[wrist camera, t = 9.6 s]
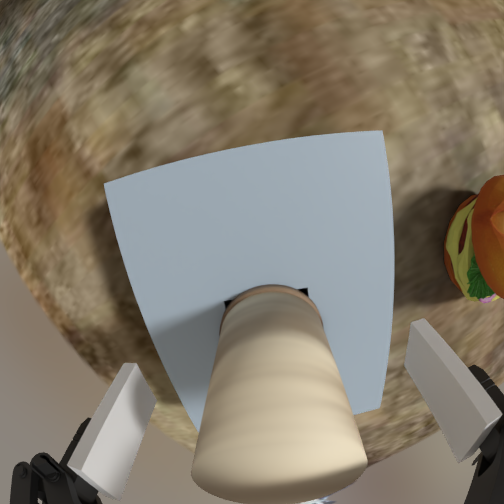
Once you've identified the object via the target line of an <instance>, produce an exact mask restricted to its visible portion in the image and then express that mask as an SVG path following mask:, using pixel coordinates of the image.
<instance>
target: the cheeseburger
mask: <svg viewBox="0 0 504 504" xmlns="http://www.w3.org/2000/svg"><path fill="white" fill-rule="evenodd" d="M444 263H445V266H446V268H447V271H448V274H449V277H450V280H451V281H452V282H453V283H454V284H455V285H456V286H457V287H458V288H459V290H460V291H461V292H462V293H463V294H464V295H465V297H466V298H467V299H468V300H471V301H480V302H483V303H487V302H490V301H493V300H496V299H498V298H500V297H501V298H503V299H504V175H500V176H494V177H492V178H491V179H490V180H488V181H487V182H486V183H485V184H484V186H483V187H482V188H481V190H480V192H479V194H478V195H472V196H470V197H469V198H468V199H467V200H465V201H464V202H463V203H462V204H461V205H460V206H459V207H458V209H457V211H456V212H455V214H454V216H453V217H452V219H451V221H450V223H449V227H448V230H447V234H446V237H445V240H444Z"/></svg>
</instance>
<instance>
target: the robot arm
mask: <svg viewBox="0 0 504 504" xmlns="http://www.w3.org/2000/svg"><path fill="white" fill-rule="evenodd" d="M404 366H405V368H406V370H407V371H408V373H409V374H410V376H411V378H412V379H413V381H414V383H415V384H416V386H417V388H418V389H419V391H420V393H421V395H422V396H423V398H424V400H425V401H426V403H427V405H428V407H429V409H430V410H431V412H432V414H433V416H434V417H435V419H436V421H437V423H438V425H439V427H440V429H441V430H442V432H443V434H444V436H445V438H446V440H447V442H448V444H449V446H450V448H451V449H452V452H453V453H454V455H455V458H456V460H457V462H458V463H460V462H462V461H463V460H465V459H467V458H469V457H470V456H472V455H473V454H474V453H475V452H476V451H477V449H478V448H480V450H481V453H480V454H479V455H478V456H477V458H476V459H475V460H474V461H473V464H472V465H475V463H476V462H477V461H478V463H477V467H476V470H475V473H474V476H473V480H472V483H471V486H470V489H469V491H468V495H467V497H466V500H465V502H464V504H504V395H503V393H502V392H501V391H500V389H499V388H498V387H497V386H496V385H495V383H494V382H493V381H492V379H490V377H489V376H488V375H487V373H486V372H485V371H484V370H483V369H481V368H479V367H478V366H476V365H472V366H470V367H469V368H467V367H466V366H465V364H464V363H463V362H462V361H461V360H460V358H459V357H458V356H457V355H456V354H455V352H454V351H453V350H452V349H451V348H450V347H449V345H448V344H447V343H446V342H445V341H444V340H443V339H442V337H441V336H440V335H439V334H438V333H437V332H436V331H435V330H434V329H433V327H432V326H431V325H430V324H429V323H428V322H427V321H426V320H425V319H424V318H423V319H420V320H417V321H414V322H411V325H410V333H409V340H408V346H407V352H406V358H405V363H404ZM156 401H157V400H156V398H155V396H154V395H153V393H152V391H151V389H150V388H149V386H148V384H147V382H146V380H145V378H144V377H143V375H142V373H141V371H140V369H139V367H138V365H137V363H124V364H123V366H122V367H121V369H120V371H119V372H118V374H117V376H116V377H115V379H114V381H113V382H112V384H111V386H110V387H109V389H108V391H107V393H106V394H105V396H104V398H103V399H102V401H101V403H100V405H99V406H98V408H97V410H96V412H95V413H94V415H93V417H92V418H87V419H86V420H85V421H84V422H83V423H82V424H81V425H80V427H79V429H78V430H77V432H76V433H77V434H75V436H74V437H73V441H71V443H70V445H69V447H68V448H67V450H66V452H65V454H64V456H63V458H62V460H61V461H60V463H59V464H58V463H57V462H56V461H55V460H54V459H53V458H52V457H51V456H50V455H49V454H47V453H38V454H36V455H35V456H34V457H33V458H32V460H31V462H30V465H29V464H28V463H27V462H20V463H18V464H17V465H16V466H15V467H14V470H13V476H12V485H11V495H10V504H39V503H38V498H39V499H40V500H42V504H102V502H101V500H100V498H99V497H98V495H97V493H98V491H99V492H100V493H102V494H103V495H105V496H106V497H109V498H112V499H115V500H118V501H120V500H121V497H122V494H123V491H124V488H125V485H126V482H127V480H128V477H129V474H130V471H131V468H132V466H133V463H134V460H135V457H136V454H137V452H138V449H139V446H140V444H141V441H142V438H143V435H144V433H145V430H146V427H147V425H148V422H149V420H150V417H151V414H152V412H153V409H154V407H155V404H156Z"/></svg>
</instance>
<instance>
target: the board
mask: <svg viewBox="0 0 504 504" xmlns="http://www.w3.org/2000/svg"><path fill="white" fill-rule="evenodd" d="M104 187H105V192H106V197H107V201H108V206H109V210H110V214H111V218H112V222H113V226H114V230H115V234H116V237H117V241H118V244H119V248H120V251H121V255H122V258H123V261H124V264H125V268H126V271H127V274H128V277H129V280H130V283H131V286H132V289H133V292H134V294H135V297H136V300H137V303H138V305H139V308H140V311H141V313H142V316H143V319H144V321H145V324H146V326H147V329H148V331H149V334H150V336H151V338H152V341H153V343H154V345H155V348H156V350H157V352H158V355H159V357H160V359H161V361H162V363H163V366H164V368H165V370H166V372H167V374H168V376H169V378H170V380H171V382H172V384H173V386H174V388H175V390H176V392H177V394H178V396H179V398H180V400H181V402H182V404H183V406H184V408H185V409H186V411H187V413H188V415H189V417H190V419H191V420H192V422H193V424H194V426H195V427H196V429H197V431H198V432H199V430H200V425H201V421H202V416H203V411H204V406H205V402H206V397H207V392H208V388H209V383H210V378H211V374H212V369H213V365H214V360H215V355H216V351H217V346H218V342H219V337H220V336H219V331H220V324H221V320H222V317H223V314H224V312H225V309H226V308H227V306H228V305H229V304H230V302H231V301H232V300H233V299H234V298H235V297H237V296H238V295H239V294H241V293H242V292H244V291H246V290H248V289H250V288H253V287H256V286H261V285H267V284H279V285H285V286H289V287H292V288H295V289H300V291H301V292H303V293H304V294H306V295H307V296H308V297H309V298H310V299H311V300H312V301H313V302H314V304H315V305H316V307H317V309H318V311H319V313H320V316H321V318H322V322H323V327H324V332H325V334H326V337H327V340H328V343H329V345H330V348H331V351H332V354H333V357H334V359H335V362H336V365H337V368H338V371H339V374H340V377H341V379H342V382H343V385H344V388H345V391H346V394H347V397H348V400H349V403H350V406H351V409H352V412H353V415H356V414H359V413H363V412H367V411H370V410H374V409H377V408H380V404H381V399H382V394H383V389H384V383H385V377H386V370H387V364H388V356H389V348H390V339H391V329H392V316H393V300H394V227H393V210H392V198H391V188H390V178H389V170H388V163H387V156H386V149H385V143H384V137H383V132H382V131H362V132H348V133H336V134H325V135H316V136H307V137H299V138H292V139H285V140H278V141H272V142H266V143H260V144H254V145H248V146H243V147H238V148H233V149H228V150H223V151H218V152H214V153H209V154H205V155H201V156H197V157H192V158H188V159H184V160H181V161H177V162H173V163H169V164H166V165H162V166H158V167H155V168H152V169H148V170H145V171H142V172H138V173H135V174H132V175H129V176H126V177H123V178H120V179H117V180H114V181H111V182H108V183H105V184H104Z"/></svg>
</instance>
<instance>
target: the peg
mask: <svg viewBox="0 0 504 504" xmlns="http://www.w3.org/2000/svg"><path fill="white" fill-rule="evenodd" d="M219 336H220V337H219V342H218V346H217V351H216V355H215V360H214V365H213V369H212V374H211V378H210V383H209V388H208V392H207V397H206V402H205V406H204V411H203V416H202V421H201V425H200V430H199V435H198V440H197V445H196V450H195V455H194V460H193V465H192V470H191V476H192V479H193V481H194V482H195V483H196V484H197V485H198V486H199V487H200V488H202V489H203V490H205V491H206V492H208V493H210V494H212V495H214V496H217V497H219V498H223V499H225V500H229V501H233V502H238V503H244V504H295V503H301V502H306V501H311V500H315V499H318V498H321V497H324V496H327V495H330V494H332V493H335V492H337V491H339V490H341V489H343V488H345V487H346V486H348V485H350V484H351V483H353V482H354V481H355V480H356V479H358V478H359V477H360V476H361V474H362V473H363V472H364V471H365V469H366V467H367V458H366V454H365V451H364V448H363V444H362V441H361V438H360V434H359V431H358V428H357V425H356V422H355V419H354V416H353V412H352V409H351V406H350V403H349V400H348V397H347V394H346V391H345V388H344V385H343V382H342V379H341V377H340V374H339V371H338V368H337V365H336V362H335V359H334V357H333V354H332V351H331V348H330V345H329V343H328V340H327V337H326V334H325V332H324V327H323V322H322V318H321V316H320V313H319V311H318V309H317V307H316V305H315V304H314V302H313V301H312V300H311V299H310V298H309V297H308V296H307V295H306V294H304V293H303V292H301V291H299V290H297V289H295V288H292V287H289V286H285V285H279V284H267V285H261V286H256V287H253V288H250V289H248V290H246V291H244V292H242V293H241V294H239V295H238V296H237V297H235V298H234V299H233V300H232V301H231V302H230V304H229V305H228V306H227V308H226V309H225V312H224V314H223V317H222V320H221V324H220V331H219Z"/></svg>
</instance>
